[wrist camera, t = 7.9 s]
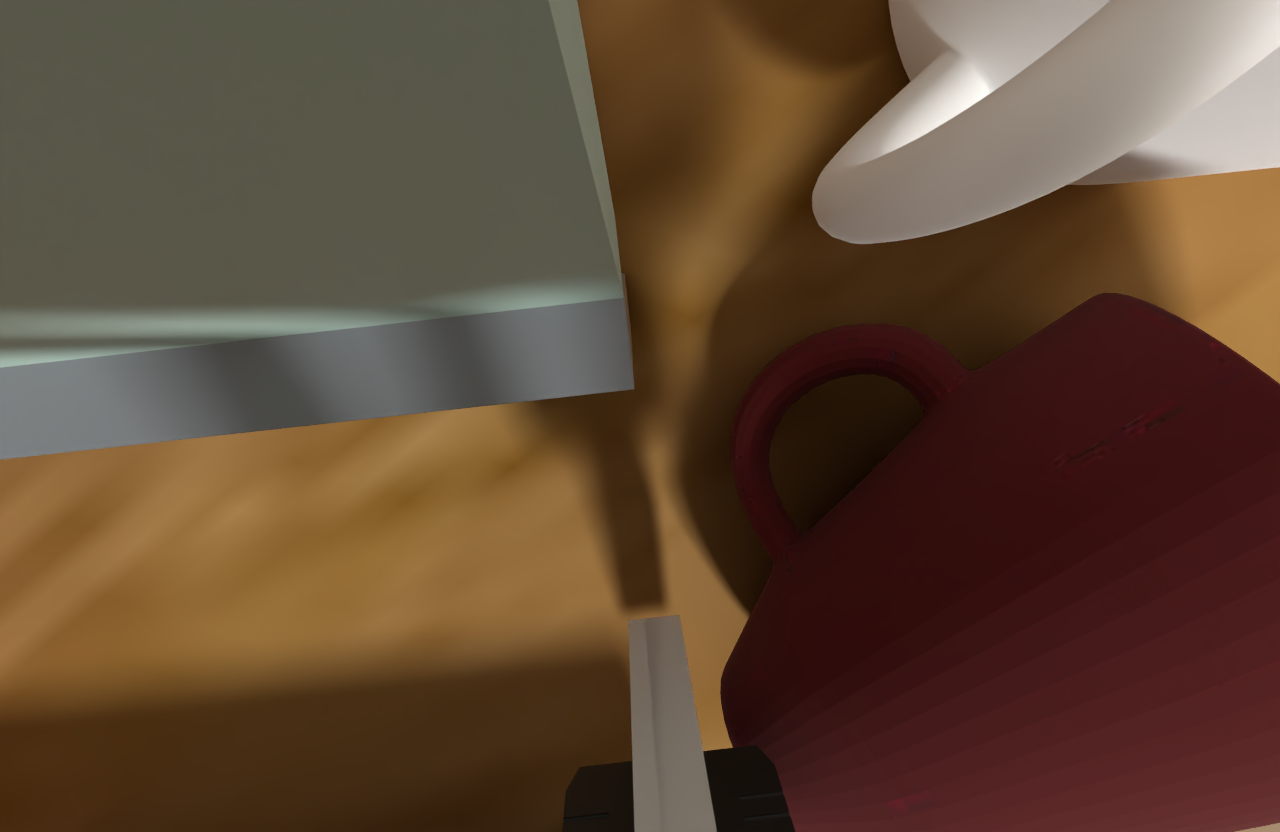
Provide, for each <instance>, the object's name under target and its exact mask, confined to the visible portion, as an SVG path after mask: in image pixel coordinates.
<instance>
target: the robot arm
mask: <svg viewBox="0 0 1280 832" xmlns="http://www.w3.org/2000/svg"><path fill="white" fill-rule="evenodd" d="M628 621H629V656H630V691H631V726H632V761H630V762H621V763H612V764H603V765H595V766H586V767H580V768H579V770H578V771H577V773H576V775H575V777H574V778H573V780H572V782H571V783H570V785H569V787H568V789H567V790H566V797H565V808H564V823H563V829H562V832H795V829H794V825H793V822H792V819H791V817H790V814H789V809H788V806H787V803H786V799H785V796H784V795H783V790H782V786H781V783H780V780H779V777H778V773H777V770H776V767H775V765H774V764H773V762H772V761H771V760H770V759H769V758H768V757H767V756H766V755H765V754H764V753H763V751H762V750H761V749H760V748H759V747H758V746H757V745H753V746H745V747H736V748H728V749H719V750H711V751H703V748H702V743H701V737H700V731H699V725H698V720H697V714H696V708H695V702H694V696H693V691H692V685H691V679H690V673H689V668H688V662H687V656H686V650H685V644H684V639H683V633H682V627H681V621H680V616H679V615H674V616H665V617H655V618H646V619H637V620H628Z"/></svg>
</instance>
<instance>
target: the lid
mask: <svg viewBox="0 0 1280 832" xmlns="http://www.w3.org/2000/svg"><path fill="white" fill-rule="evenodd" d="M618 298H624V293H623V284H622V275H621V266H620V257H619V248H618V239H617V230H616V221H615V215H614V209H613V203H612V197H611V191H610V186H609V180H608V174H607V168H606V163H605V157H604V151H603V145H602V140H601V134H600V128H599V122H598V117H597V111H596V105H595V99H594V94H593V88H592V82H591V76H590V71H589V65H588V59H587V53H586V48H585V42H584V36H583V30H582V25H581V19H580V13H579V7H578V2H577V0H0V368H1V367H10V366H19V365H28V364H37V363H46V362H55V361H64V360H73V359H82V358H91V357H100V356H108V355H117V354H126V353H135V352H144V351H153V350H162V349H171V348H180V347H189V346H198V345H207V344H216V343H225V342H234V341H242V340H251V339H260V338H269V337H278V336H287V335H296V334H305V333H314V332H323V331H332V330H341V329H350V328H359V327H368V326H376V325H385V324H394V323H403V322H412V321H421V320H430V319H439V318H448V317H457V316H466V315H475V314H484V313H493V312H502V311H510V310H519V309H528V308H537V307H546V306H555V305H564V304H573V303H582V302H591V301H600V300H609V299H618Z"/></svg>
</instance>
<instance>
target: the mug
mask: <svg viewBox="0 0 1280 832" xmlns="http://www.w3.org/2000/svg"><path fill="white" fill-rule="evenodd" d="M857 374H874V375H878V376H883V377H888V378H890V379H892V380H894V381H896V382H898V383H899V384H901V385H902V386H903V387H905V388H906V389H907V390H908V391H909V392H910V393H911V394H912V395H913V396H914V397H915V398H916V399H917V400H918V401H919V402H920V404H921V405H922V407H923V408H924V415H923V417H922V418H921V420H920V421H919V422H918V423H917V424H916V426H915V427H914V428H913V429H912V430H911V431H910V432H909V433H908V434H907V436H906V437H905V438H904V439H903V440H902V441H901V442H900V443H899V444H898V445H897V446H896V447H895V448H894V449H893V450H892V451H891V452H890V453H889V454H888V455H887V456H886V457H885V458H884V459H883V460H882V461H881V462H880V463H879V464H878V465H877V466H876V467H875V468H874V469H873V470H872V471H871V472H870V473H869V474H868V475H867V476H866V477H865V478H864V479H863V480H862V481H861V482H860V483H859V484H858V485H857V486H855V487H854V488H853V489H852V490H851V491H850V492H849V493H848V494H847V495H846V496H845V497H844V498H843V499H842V500H841V501H839V502H838V503H837V504H836V505H835V506H834V507H833V508H832V509H831V510H830V511H829V512H828V513H826V514H825V515H824V516H823V517H822V518H821V519H820V520H819V521H818V522H817V523H816V524H815V525H813V526H812V527H811V528H810V529H808V530H807V531H806V532H804V533H800V532H799V530H798V529H797V528H796V526H795V525H794V523H793V522H792V520H791V518H790V517H789V515H788V513H787V512H786V510H785V508H784V507H783V505H782V503H781V501H780V499H779V497H778V495H777V493H776V490H775V487H774V485H773V482H772V478H771V474H770V469H769V450H770V444H771V440H772V437H773V434H774V432H775V429H776V427H777V425H778V424H779V422H780V420H781V418H782V417H783V415H784V414H785V413H786V412H787V410H788V409H789V408H790V407H791V406H792V405H793V404H794V403H795V402H796V401H797V400H798V399H800V398H801V397H802V396H803V395H805V394H806V393H808V392H809V391H811V390H812V389H814V388H815V387H817V386H820V385H822V384H824V383H826V382H828V381H831V380H834V379H837V378H840V377H844V376H850V375H857ZM730 458H731V465H732V471H733V477H734V481H735V484H736V488H737V491H738V495H739V497H740V500H741V502H742V505H743V508H744V510H745V512H746V515H747V517H748V519H749V521H750V523H751V525H752V527H753V529H754V531H755V533H756V535H757V537H758V538H759V540H760V542H761V544H762V546H763V547H764V549H765V550H766V552H767V554H768V555H769V557H770V558H771V560H772V561H773V568H772V571H771V573H770V575H769V578H768V580H767V582H766V585H765V587H764V589H763V591H762V593H761V595H760V597H759V599H758V601H757V603H756V605H755V607H754V609H753V611H752V613H751V615H750V617H749V619H748V621H747V623H746V625H745V627H744V629H743V631H742V633H741V635H740V637H739V639H738V641H737V643H736V645H735V647H734V649H733V651H732V653H731V655H730V657H729V659H728V661H727V663H726V665H725V668H724V671H723V674H722V678H721V692H720V693H721V704H722V710H723V715H724V721H725V724H726V728H727V731H728V735H729V738H730V741H731V743H732V746H733V748H736V747H745V746H753V745H757V746H758V747H759V748H760V749H761V750H762V751H763V753H764V754H765V755H766V756H767V757H768V758H769V759H770V760H771V761H772V762H773V764H774V765H775V767H776V770H777V773H778V777H779V780H780V783H781V786H782V790H783V795H784V796H785V799H786V803H787V806H788V809H789V814H790V817H791V819H792V822H793V825H794V829H795V832H1234V831H1240V830H1245V829H1250V828H1255V827H1261V826H1266V825H1270V824H1275V823H1280V384H1279V383H1278V382H1276V381H1275V380H1274V379H1272V378H1271V377H1270V376H1268V375H1267V374H1266V373H1264V372H1263V371H1262V370H1260V369H1259V368H1257V367H1256V366H1255V365H1253V364H1252V363H1250V362H1249V361H1248V360H1246V359H1245V358H1244V357H1242V356H1241V355H1239V354H1238V353H1236V352H1235V351H1233V350H1232V349H1230V348H1229V347H1227V346H1226V345H1224V344H1223V343H1221V342H1220V341H1218V340H1217V339H1215V338H1214V337H1212V336H1210V335H1209V334H1207V333H1205V332H1204V331H1202V330H1201V329H1199V328H1197V327H1196V326H1194V325H1192V324H1190V323H1189V322H1187V321H1185V320H1183V319H1181V318H1180V317H1178V316H1176V315H1174V314H1172V313H1170V312H1168V311H1166V310H1164V309H1162V308H1160V307H1158V306H1156V305H1153V304H1151V303H1148V302H1146V301H1143V300H1141V299H1137V298H1134V297H1131V296H1128V295H1122V294H1117V293H1103V294H1098V295H1096V296H1094V297H1092V298H1090V299H1089V300H1087V301H1086V302H1084V303H1082V304H1081V305H1079V306H1078V307H1076V308H1075V309H1073V310H1072V311H1070V312H1069V313H1067V314H1066V315H1064V316H1062V317H1061V318H1059V319H1058V320H1056V321H1055V322H1053V323H1052V324H1050V325H1049V326H1047V327H1045V328H1044V329H1042V330H1041V331H1039V332H1038V333H1036V334H1035V335H1033V336H1032V337H1030V338H1029V339H1027V340H1025V341H1024V342H1022V343H1021V344H1019V345H1018V346H1016V347H1015V348H1013V349H1011V350H1010V351H1008V352H1007V353H1005V354H1003V355H1002V356H1000V357H998V358H997V359H995V360H993V361H992V362H990V363H988V364H986V365H984V366H982V367H980V368H978V369H976V370H968V369H965V368H964V367H963V366H962V365H961V364H960V363H959V361H958V360H957V359H956V358H955V357H954V356H953V355H952V354H951V353H950V352H949V351H948V350H947V349H946V348H944V347H943V346H942V345H941V344H940V343H938V342H937V341H935V340H934V339H932V338H930V337H929V336H927V335H925V334H923V333H920V332H918V331H915V330H913V329H910V328H907V327H902V326H896V325H891V324H856V325H849V326H842V327H836V328H833V329H830V330H827V331H824V332H821V333H818V334H815V335H812V336H810V337H808V338H806V339H804V340H803V341H801V342H799V343H797V344H795V345H793V346H791V347H789V348H788V349H787V350H786V351H784V352H783V353H782V354H780V355H779V356H778V357H776V358H775V359H774V360H773V361H771V362H770V363H769V364H768V365H767V366H766V367H765V368H764V369H763V371H762V372H761V373H760V374H759V375H758V376H757V377H756V378H755V379H754V380H753V382H752V383H751V385H750V386H749V388H748V390H747V391H746V393H745V394H744V396H743V397H742V399H741V401H740V404H739V406H738V409H737V412H736V414H735V417H734V420H733V426H732V432H731V437H730Z"/></svg>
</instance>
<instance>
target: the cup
mask: <svg viewBox="0 0 1280 832" xmlns="http://www.w3.org/2000/svg"><path fill="white" fill-rule="evenodd" d="M888 2H889V10H890V17H891V24H892V29H893V33H894V37H895V42H896V46H897V49H898V52H899V55H900V58H901V61H902V64H903V67H904V69H905V71H906V73H907V75H908V78H909V80H910V83H909V84H908V85H907V86H906V87H904V88H903V89H902V90H901V91H900V92H899V93H898V94H897V95H896V96H895V97H894V98H892V99H891V100H890V101H889V102H888V103H887V104H886V105H885V106H884V107H883V108H882V109H881V110H879V111H878V112H877V113H876V114H875V115H874V116H873V117H872V118H871V119H870V120H869V121H868V122H867V123H866V124H865V125H864V126H863V127H862V128H861V129H860V130H859V131H858V132H857V133H856V134H855V135H854V136H853V137H852V138H851V139H850V140H849V141H848V142H847V143H846V144H845V145H844V146H843V147H842V148H841V149H840V150H839V152H838V153H837V154H836V155H835V156H834V157H833V158H832V159H831V161H830V162H829V163H828V164H827V165H826V167H825V168H824V169H823V171H822V172H821V174H820V176H819V177H818V180H817V182H816V185H815V187H814V190H813V194H812V210H813V213H814V216H815V218H816V220H817V222H818V225H819V226H820V227H821V228H822V229H824V230H825V231H826V232H827V233H828V234H829V235H830V236H832V237H834V238H837V239H840V240H843V241H846V242H849V243H854V244H874V243H884V242H893V241H900V240H907V239H913V238H918V237H923V236H928V235H932V234H936V233H940V232H944V231H948V230H951V229H955V228H958V227H962V226H965V225H969V224H972V223H975V222H978V221H981V220H984V219H987V218H990V217H993V216H995V215H998V214H1001V213H1003V212H1006V211H1008V210H1011V209H1014V208H1016V207H1019V206H1021V205H1024V204H1026V203H1028V202H1031V201H1033V200H1035V199H1038V198H1040V197H1042V196H1045V195H1047V194H1049V193H1051V192H1053V191H1055V190H1057V189H1059V188H1061V187H1064V186H1066V185H1101V184H1119V183H1131V182H1142V181H1151V180H1161V179H1170V178H1180V177H1189V176H1199V175H1208V174H1218V173H1227V172H1237V171H1246V170H1256V169H1265V168H1275V167H1280V0H888Z"/></svg>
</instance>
